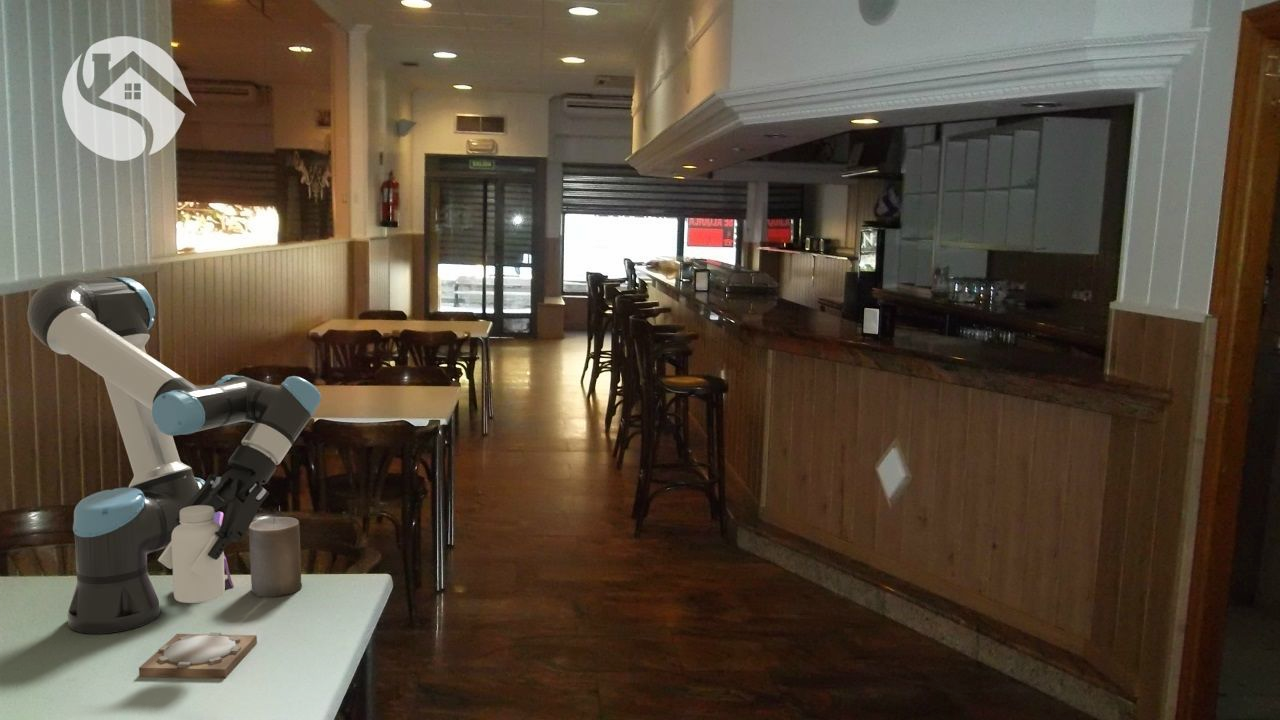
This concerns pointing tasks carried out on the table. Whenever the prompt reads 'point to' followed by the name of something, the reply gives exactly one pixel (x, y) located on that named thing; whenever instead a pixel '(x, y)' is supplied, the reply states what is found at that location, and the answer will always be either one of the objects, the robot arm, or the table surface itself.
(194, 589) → the pill bottle
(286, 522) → the pillar candle
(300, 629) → the table surface
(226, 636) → the gear board
